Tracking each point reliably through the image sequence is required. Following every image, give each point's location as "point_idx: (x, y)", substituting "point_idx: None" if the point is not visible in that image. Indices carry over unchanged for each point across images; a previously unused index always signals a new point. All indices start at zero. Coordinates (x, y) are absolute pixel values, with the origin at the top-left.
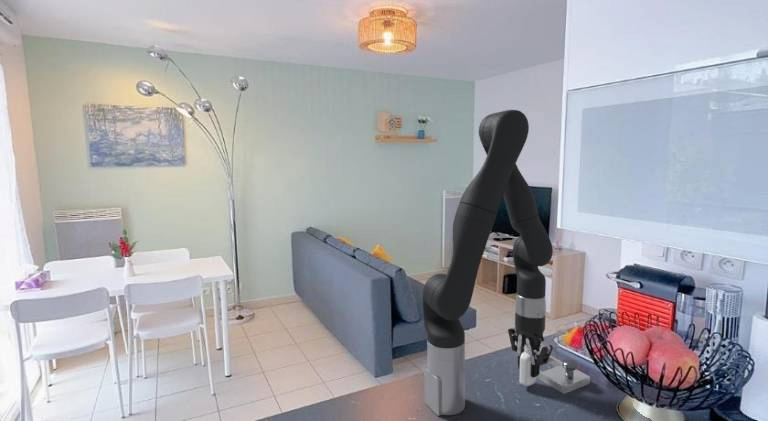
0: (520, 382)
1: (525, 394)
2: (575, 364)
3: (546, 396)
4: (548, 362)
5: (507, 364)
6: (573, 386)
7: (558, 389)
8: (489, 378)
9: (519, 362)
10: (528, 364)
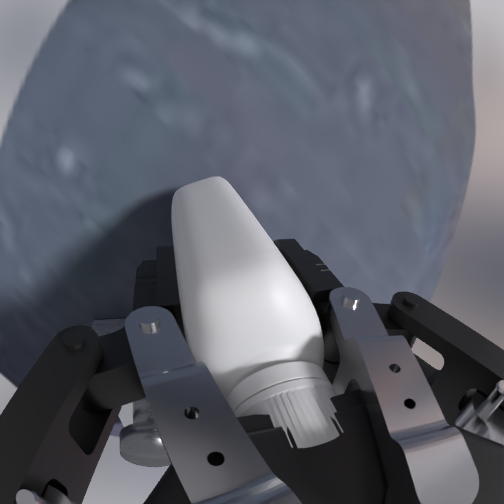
0: (213, 177)
1: (160, 161)
2: (130, 459)
3: (102, 246)
4: None
5: (382, 265)
6: None
7: (119, 323)
8: (367, 110)
9: (303, 262)
10: (181, 278)
